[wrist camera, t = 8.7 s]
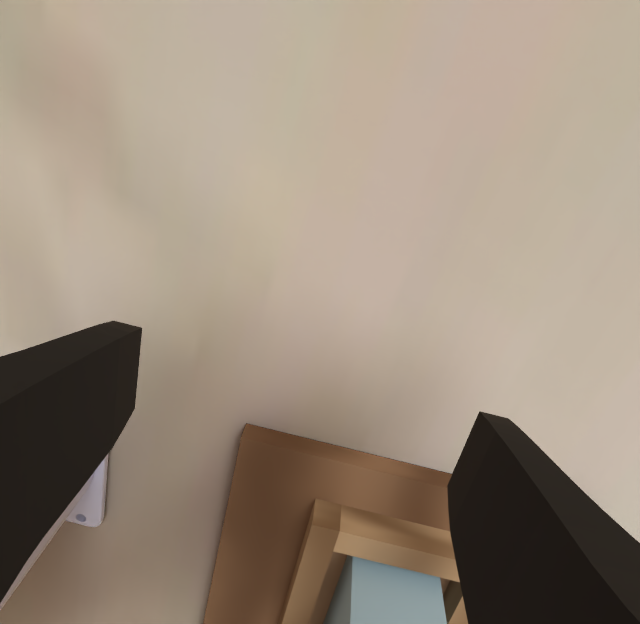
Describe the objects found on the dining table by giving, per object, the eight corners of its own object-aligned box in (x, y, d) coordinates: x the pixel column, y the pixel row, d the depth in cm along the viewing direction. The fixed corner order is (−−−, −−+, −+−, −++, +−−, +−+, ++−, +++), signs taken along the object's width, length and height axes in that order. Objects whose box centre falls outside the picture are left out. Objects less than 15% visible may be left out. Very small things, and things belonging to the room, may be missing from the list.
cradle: (196, 666, 30) (181, 714, 27) (246, 423, 22) (232, 460, 20) (458, 730, 30) (465, 783, 27) (593, 509, 22) (618, 555, 20)
